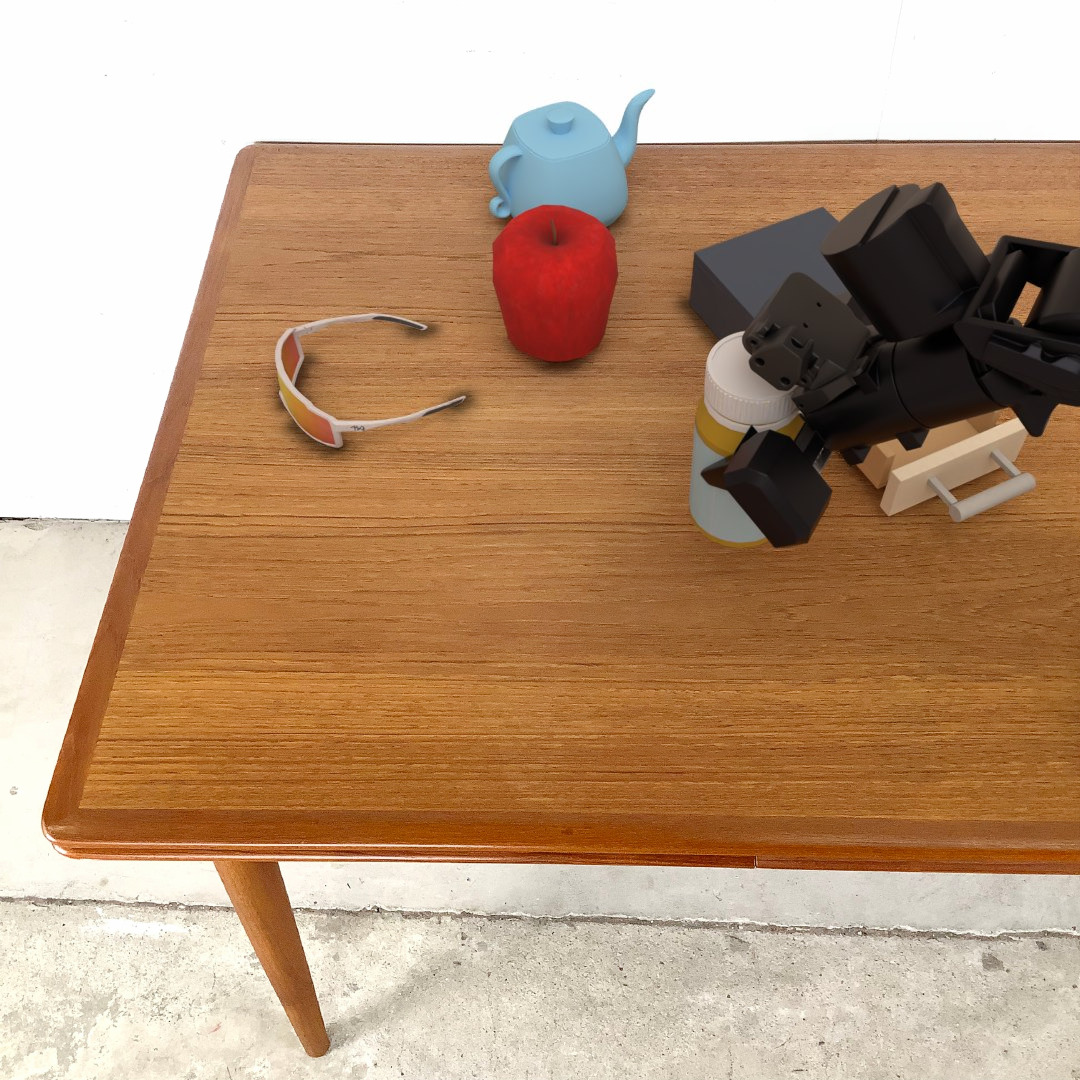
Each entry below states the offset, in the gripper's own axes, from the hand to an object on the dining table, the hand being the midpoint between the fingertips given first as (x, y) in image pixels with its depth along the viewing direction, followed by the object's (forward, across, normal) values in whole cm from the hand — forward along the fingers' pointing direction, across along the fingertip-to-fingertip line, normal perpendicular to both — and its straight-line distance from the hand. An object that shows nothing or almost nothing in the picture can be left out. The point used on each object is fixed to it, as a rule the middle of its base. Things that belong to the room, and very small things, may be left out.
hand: (727, 442), depth 76 cm
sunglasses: (+33, -2, -15) cm, 37 cm away
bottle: (+4, 0, +6) cm, 7 cm away
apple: (+25, -15, -6) cm, 30 cm away
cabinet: (+12, -26, +7) cm, 30 cm away
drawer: (+2, -18, +15) cm, 24 cm away
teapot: (+31, -33, -13) cm, 47 cm away
